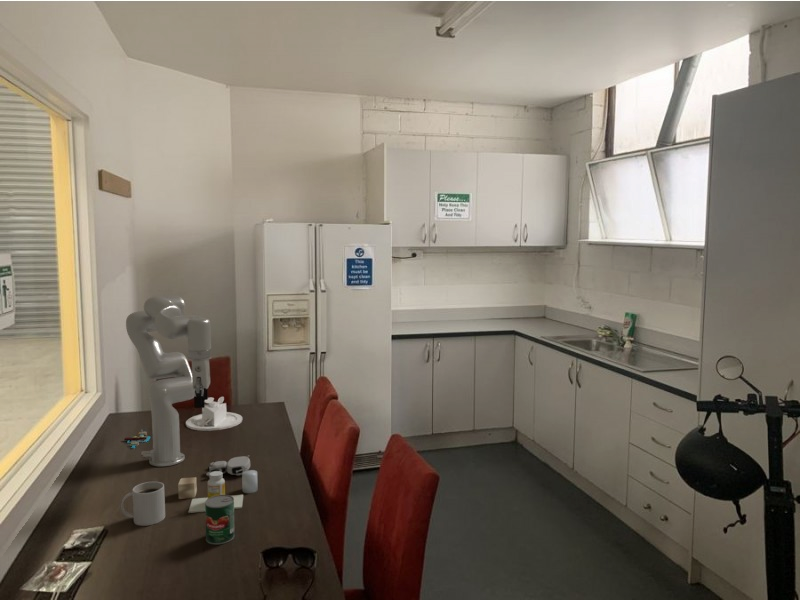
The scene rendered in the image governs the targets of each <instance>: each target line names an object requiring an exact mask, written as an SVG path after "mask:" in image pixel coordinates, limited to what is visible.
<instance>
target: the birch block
mask: <svg viewBox="0 0 800 600" xmlns="http://www.w3.org/2000/svg"><path fill="white" fill-rule="evenodd" d="M177 486H178V488H177V489H178V490H177V491H178V499H179V500H183V499H184V500H186V499H196V495H197V492H198V486H197V477H196V476H195V477H182V478H180V479H179V481H178V484H177Z"/></svg>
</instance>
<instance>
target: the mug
mask: <svg viewBox="0 0 800 600" xmlns="http://www.w3.org/2000/svg"><path fill="white" fill-rule="evenodd" d="M129 497H132V512H133V513H129V512H128V511H126V509H125V501H126V500H127V498H129ZM165 501H166V499H165V484H164V482H160V481H146V482H142V483H139V484H137V485H135V486H133V488H132V490H131V491H130V492H128V493H127V494H125V495H124V497H123V498H122V500H121V504H120V509H121V513H122V514H123V515H124V516H125V517H126V518H130V519H133V523H134V524H135V525H136V526H139V527H141V526H143V527H145V526H147V527H148V526H152V525H156V524H158V523H160V522H162V521H164V519H165V518H166V502H165Z"/></svg>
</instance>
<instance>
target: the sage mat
mask: <svg viewBox="0 0 800 600" xmlns="http://www.w3.org/2000/svg"><path fill="white" fill-rule="evenodd" d="M231 496H232V497H233V498H234V510H239V509H242V508H243V502H244V494H236V495H231ZM207 499H208V497H198V498H196V497H195V498H191V502H190V505H189V508H188V514H190V513H191V514H192V513H203V512H205V501H206V500H207Z"/></svg>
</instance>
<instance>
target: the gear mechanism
mask: <svg viewBox="0 0 800 600" xmlns="http://www.w3.org/2000/svg"><path fill="white" fill-rule="evenodd" d="M147 433H148V432H147V431H143V428H141V430H140V432H138V435H137V436H136V435H134V436H130V437H129V436H128V437H124V440H123V441H127V442H126V443H131V444H130V445H129V446H130V449H131V448H134V449H135V448H136V447H139V446H140V443H139V442H142V443H141V444H144V443H143V442H147V441H148V442H149V441H150V439H151V436H148V434H147ZM144 435H146V436H144ZM145 438H146V439H145ZM130 440H131V441H130ZM135 440H137V441H135ZM141 440H144V441H141ZM129 441H130V442H129ZM148 442H147V443H148ZM138 445H139V446H138ZM131 446H132V447H131ZM135 446H136V447H135Z"/></svg>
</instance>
